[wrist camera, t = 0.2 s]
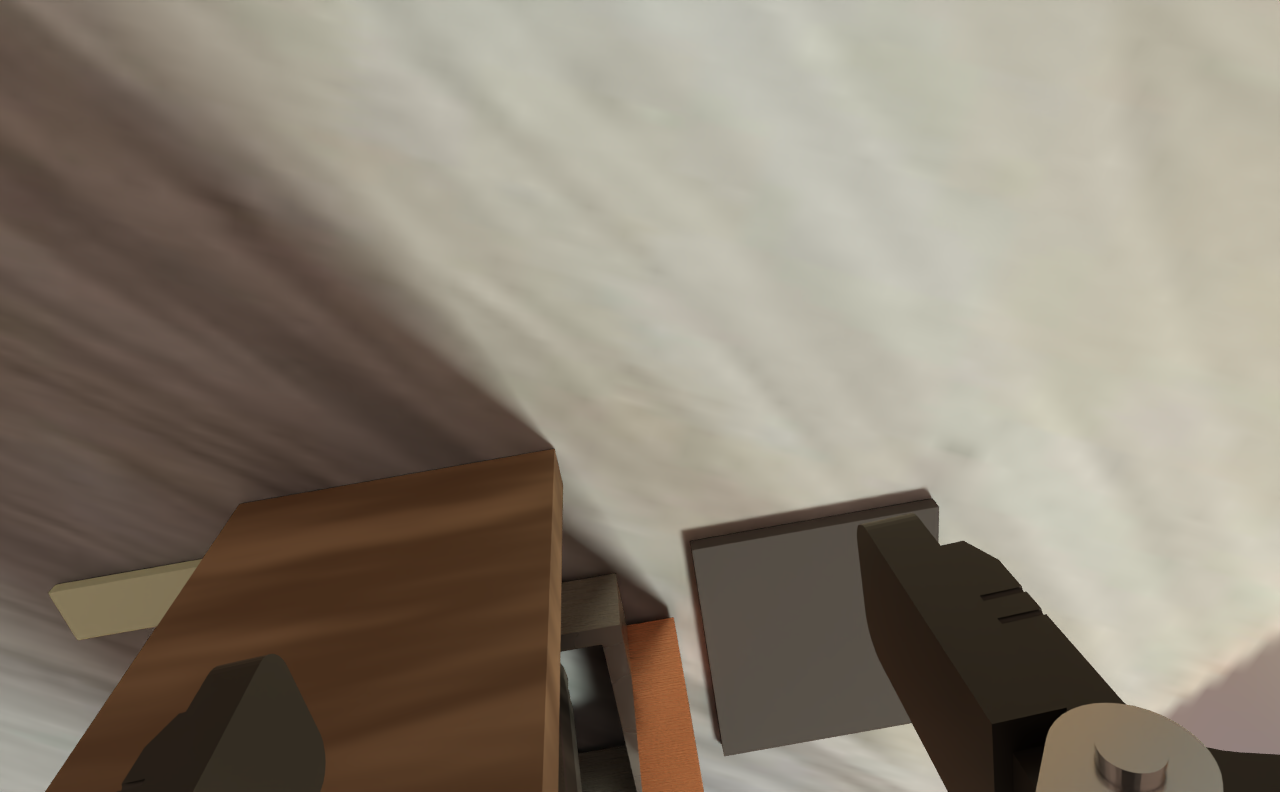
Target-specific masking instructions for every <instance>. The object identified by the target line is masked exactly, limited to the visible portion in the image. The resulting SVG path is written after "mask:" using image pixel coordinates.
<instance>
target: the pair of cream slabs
mask: <svg viewBox="0 0 1280 792" xmlns="http://www.w3.org/2000/svg"><path fill="white" fill-rule="evenodd" d="M201 560H202V559H199V560H193V561H188V562H182V563H176V564H171V565H165V566H159V567H154V568H148V569H142V570H137V571H131V572H125V573H120V574H114V575H108V576H103V577H97V578H91V579H85V580H80V581H74V582H68V583H63V584H57V585H55V586H54V587H53V588H52V589H51V590H50V592H49V593H48V594H49V596H50V597H51V599H52V600H53V602H54V604H55V605H56V607H57V608H58V610H59V612H60V613H61V615H62V616H63V618H64V620H65V621H66V623H67V624H68V626H69V628H70V629H71V631H72V633H73V634H74V636H75V637H76V639H77V640H83V639H88V638H94V637H100V636H105V635H111V634H117V633H122V632H128V631H134V630H139V629H145V628H151V627H156V626H157V625H158V624H159V622H160V621H161V620H162V618H163V617H164V615H165V614H166V612H167V611H168V609H169V608H170V606H171V605H172V603H173V602H174V600H175V599H176V597H177V596H178V594H179V593H180V591H181V590H182V588H183V587H184V585H185V584H186V582H187V581H188V580H189V578H190V577H191V575H192V574H193V572H194V571H195V569H196V568H197V566H198V565H199V563H200V562H201Z"/></svg>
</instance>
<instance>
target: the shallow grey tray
mask: <svg viewBox="0 0 1280 792" xmlns="http://www.w3.org/2000/svg"><path fill="white" fill-rule="evenodd" d="M601 644H603V649H604V653H605V657H606V662H607V666H608V670H609V674H610V679H611V683H612V687H613V692H614V696H615V700H616V704H617V709H618V713H619V717H620V722H621V726H622V730H623V734H624V739H625V743H626V745H624V746H618V747H612V748H607V749H601V750H596V751H590V752H584V753H579V754H578V759H579V768H580V777H581V786H582V792H704V789H703V783H702V777H701V771H700V765H699V760H698V754H697V748H696V742H695V736H694V731H693V725H692V719H691V713H690V707H689V702H688V696H687V690H686V685H685V679H684V673H683V668H682V662H681V657H680V651H679V645H678V640H677V634H676V628H675V623H674V617H672V618H667V619H661V620H655V621H650V622H644V623H638V624H633V625H627V624H626V619H625V615H624V610H623V605H622V601H621V596H620V591H619V586H618V582H617V577H616V573H614V574H609V575H603V576H597V577H592V578H586V579H580V580H575V581H569V582H563V583H561V642H560V652H561V651H567V650H573V649H578V648H584V647H590V646H595V645H601Z"/></svg>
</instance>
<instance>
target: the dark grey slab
mask: <svg viewBox="0 0 1280 792" xmlns="http://www.w3.org/2000/svg"><path fill="white" fill-rule="evenodd" d="M909 513H914V514H915V515H917V516H918V518H919V519H920V520H921V521H922V522H923V524H924V525H925V526H926V528H927V529H928V530H929V531H930V533H931V534H932V535H933V537H934V538H935V539H936V540H937V542H938V533H939V506H938V505H937V504H936V502H935V501H934V500H933V499H927V500H922V501H916V502H910V503H905V504H899V505H893V506H888V507H882V508H876V509H871V510H865V511H859V512H854V513H848V514H842V515H837V516H831V517H825V518H820V519H814V520H808V521H803V522H797V523H791V524H786V525H780V526H774V527H769V528H763V529H757V530H752V531H746V532H740V533H734V534H729V535H723V536H717V537H712V538H706V539H700V540H695V541H690V543H691V550H692V556H693V563H694V569H695V575H696V582H697V588H698V595H699V601H700V607H701V614H702V620H703V627H704V633H705V639H706V646H707V652H708V659H709V665H710V671H711V678H712V684H713V691H714V697H715V703H716V710H717V716H718V722H719V729H720V735H721V742H722V747H723V752H724V756H729V755H734V754H740V753H746V752H751V751H757V750H763V749H768V748H774V747H780V746H785V745H791V744H796V743H802V742H808V741H813V740H819V739H825V738H830V737H836V736H842V735H847V734H853V733H858V732H864V731H870V730H875V729H881V728H887V727H892V726H898V725H904V724H909V723H912V722H911V720H910V718H909V716H908V715H907V713H906V711H905V709H904V707H903V705H902V703H901V701H900V699H899V697H898V695H897V694H896V692H895V690H894V688H893V686H892V684H891V682H890V680H889V678H888V676H887V675H886V673H885V671H884V669H883V667H882V665H881V663H880V661H879V659H878V656H877V654H876V651H875V649H874V646H873V643H872V640H871V636H870V633H869V629H868V625H867V620H866V613H865V605H864V596H863V588H862V579H861V570H860V561H859V553H858V544H857V527H858V525H860V524H864V523H869V522H873V521H878V520H882V519H887V518H891V517H896V516H900V515H905V514H909Z"/></svg>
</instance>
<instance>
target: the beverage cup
mask: <svg viewBox="0 0 1280 792" xmlns="http://www.w3.org/2000/svg"><path fill="white" fill-rule="evenodd" d="M558 792H582V786H581V777H580V768H579V759H578V750H577V741H576V732H575V723H574V714H573V706H572V703H571V701H570V694H569V690H568V678H567V675H566V672H565V670H564V667H563V666H562V665H561V664H560V707H559V772H558Z"/></svg>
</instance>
